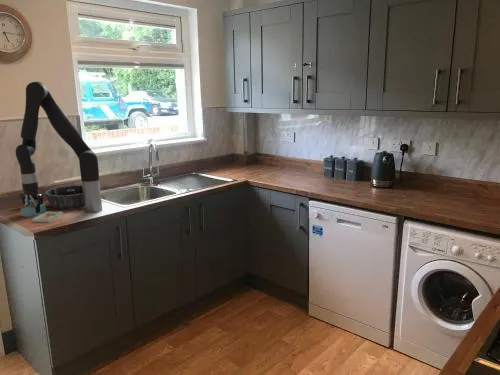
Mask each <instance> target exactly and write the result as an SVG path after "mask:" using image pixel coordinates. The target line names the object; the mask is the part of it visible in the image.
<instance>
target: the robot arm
mask: <svg viewBox="0 0 500 375" xmlns="http://www.w3.org/2000/svg"><path fill="white" fill-rule="evenodd" d="M40 108H42V110H43V111H44V113H45V114H46V116H47V118H48V119H47V120H48V121H49V123H50V125H51V127H52V128H53V129H54V131H55V132H56V133H57V134H58V136H59V137H60V138H61V139H62V140H63V141H64V142H65V144H67V145H68V146H69V147H70V148H71V149H72V151H73V152H74V154H75V155H76V156H77V159H78V163H79V171H80V172H79V174H80V180H81V185H82V191H83V200H84V207H83V208H84V209H83V210H84V212H85V213H97V212H101V211H103V205H102V204H103V203H102V194H101V183H100V173H99V163H98V162H99V161H98V157H97V154H96V153H95V152H94V151H93V150H92V149H91V147H90V146H89V145H87V143H86V142H85V141H84V139H83V137H82V136H81V134H80V133H79V131H78V129H77V128H76V125H75V124H74V123H73V121H72V120H71V119H70V117H68V115H67V114H66V113H65V111H64V110H63V109H62V108H61V106H60V105H59V104H58V103H57V101H56V100H55V99H54V97H53V95H52V94H51V92H50V91H49V89H48V87H47V85H45V83H43V82H41V81H32V82H29V83H28V84H27V85H26V87H25V109H24V115H23V119H22V120H23V121H22V125H21V131H20V137H21V139H22V142H21V144H19V145H17V146H16V148H15V156H16V159H17V162H18V164H19V171H20V180H21V187H22V188H21V189H22V191H23V192H20V194H19V195H20V199H21V203H22V205H25V207H28V204H31V201H32V202H33V203H34V204H35V209H36V213H40V205H42V204H44V194H43V193H41V194H40V193H39V192H38V191H39V183H38V175H37V170H36V169H37V168H36V165H35V162H34V161H32V158H31V157H33V155H34V154H35V153H36V150H37V148H36V147H37V142H36V138H37V133H38V128H39V127H38V126H39V113H40V112H39V111H40ZM36 199H37V200H36ZM35 200H36V201H35ZM36 202H37V203H36Z"/></svg>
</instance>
